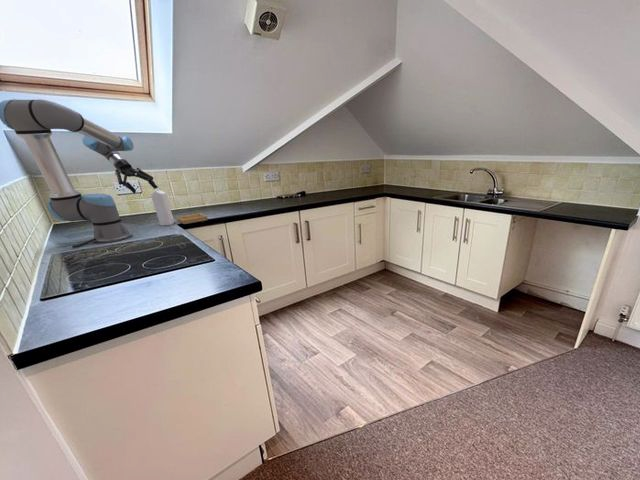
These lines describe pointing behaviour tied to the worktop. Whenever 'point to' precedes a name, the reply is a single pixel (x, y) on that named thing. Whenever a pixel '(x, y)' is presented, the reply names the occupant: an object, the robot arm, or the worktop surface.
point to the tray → (192, 218)
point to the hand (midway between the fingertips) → (146, 190)
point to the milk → (162, 207)
